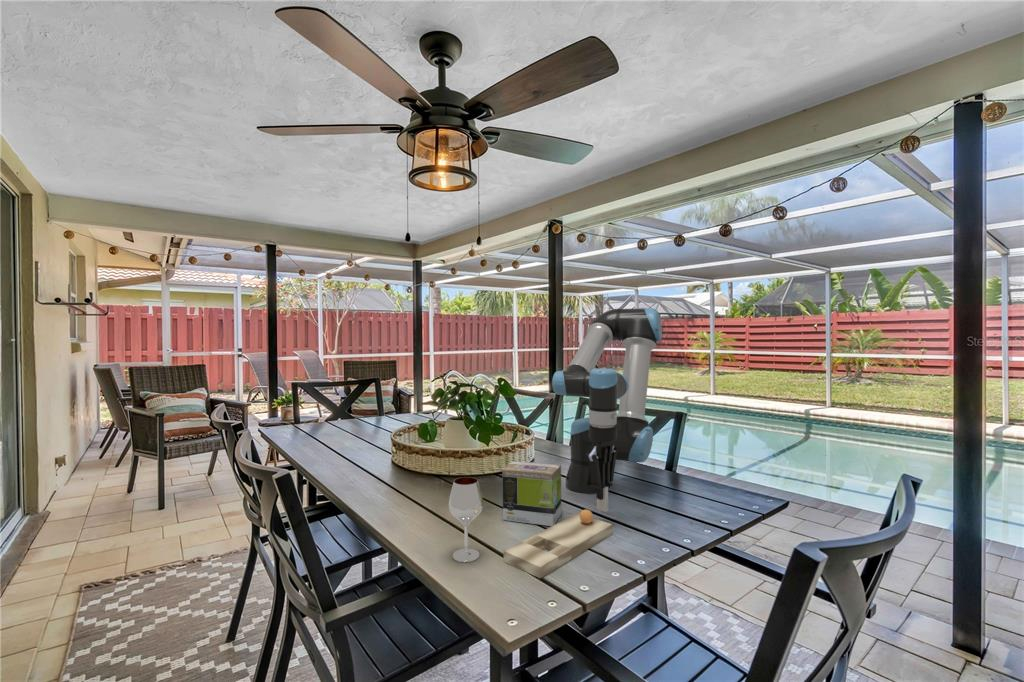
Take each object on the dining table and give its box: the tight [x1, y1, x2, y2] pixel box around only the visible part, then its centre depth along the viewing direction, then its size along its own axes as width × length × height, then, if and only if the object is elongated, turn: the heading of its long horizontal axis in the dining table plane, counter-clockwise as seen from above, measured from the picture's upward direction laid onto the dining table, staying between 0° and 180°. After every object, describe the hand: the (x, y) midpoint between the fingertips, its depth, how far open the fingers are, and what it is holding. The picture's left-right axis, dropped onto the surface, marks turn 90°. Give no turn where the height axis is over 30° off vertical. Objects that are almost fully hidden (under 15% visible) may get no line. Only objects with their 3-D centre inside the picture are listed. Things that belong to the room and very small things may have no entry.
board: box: [503, 513, 613, 579], centre depth 117 cm, size 11×30×2 cm, turn 137°
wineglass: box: [448, 476, 484, 563], centre depth 112 cm, size 8×8×18 cm
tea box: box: [501, 460, 562, 527], centre depth 135 cm, size 15×10×15 cm, turn 71°
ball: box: [579, 509, 594, 524], centre depth 125 cm, size 4×4×4 cm
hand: (602, 509), depth 131 cm, fingers closed
